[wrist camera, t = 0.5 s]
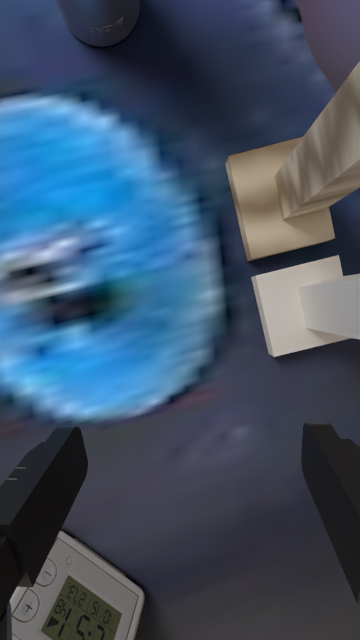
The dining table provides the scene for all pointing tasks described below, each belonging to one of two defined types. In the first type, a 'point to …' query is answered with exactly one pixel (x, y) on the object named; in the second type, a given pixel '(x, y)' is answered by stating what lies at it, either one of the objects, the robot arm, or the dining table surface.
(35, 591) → the digital clock
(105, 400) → the dining table surface
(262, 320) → the white column stand
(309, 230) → the marbled pedestal stand
